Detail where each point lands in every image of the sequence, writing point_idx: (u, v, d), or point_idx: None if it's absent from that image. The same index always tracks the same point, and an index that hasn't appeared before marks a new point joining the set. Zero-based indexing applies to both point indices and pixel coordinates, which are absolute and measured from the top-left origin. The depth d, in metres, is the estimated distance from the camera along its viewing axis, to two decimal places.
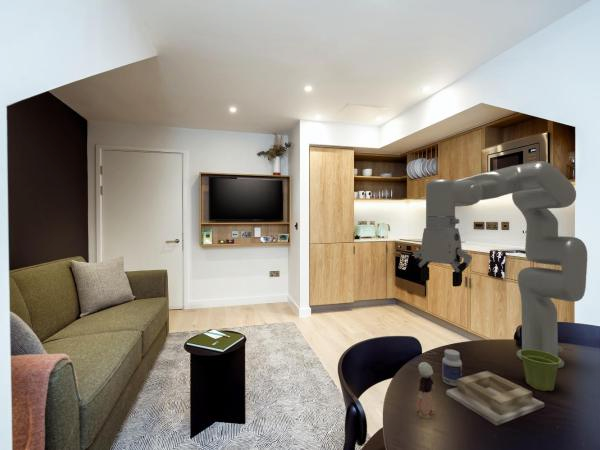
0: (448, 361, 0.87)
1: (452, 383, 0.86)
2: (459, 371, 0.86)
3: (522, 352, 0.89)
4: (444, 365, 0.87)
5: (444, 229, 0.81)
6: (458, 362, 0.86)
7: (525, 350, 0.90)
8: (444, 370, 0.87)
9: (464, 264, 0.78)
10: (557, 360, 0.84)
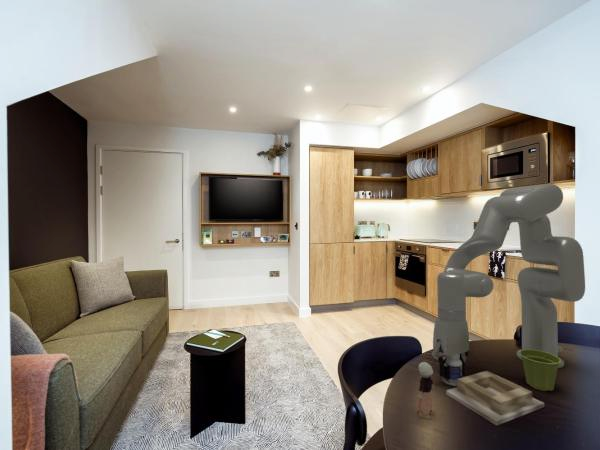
0: None
1: (452, 383, 0.86)
2: (459, 371, 0.86)
3: (522, 352, 0.89)
4: None
5: (464, 321, 0.87)
6: (458, 362, 0.86)
7: (525, 350, 0.90)
8: None
9: (467, 352, 0.89)
10: (557, 360, 0.84)
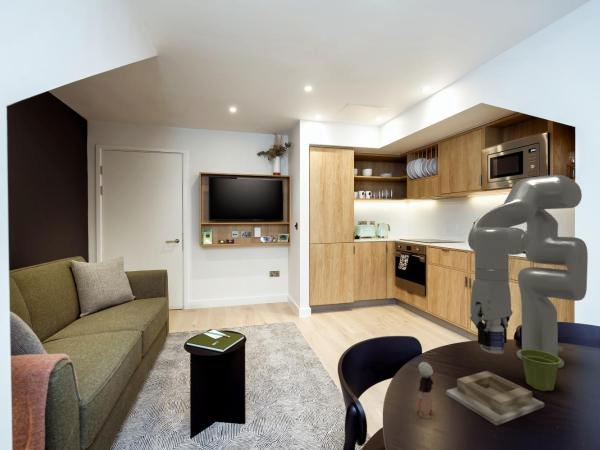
0: None
1: (493, 351, 0.76)
2: (501, 337, 0.76)
3: (522, 352, 0.89)
4: None
5: None
6: (500, 327, 0.77)
7: (525, 350, 0.90)
8: None
9: (509, 318, 0.80)
10: (557, 360, 0.84)
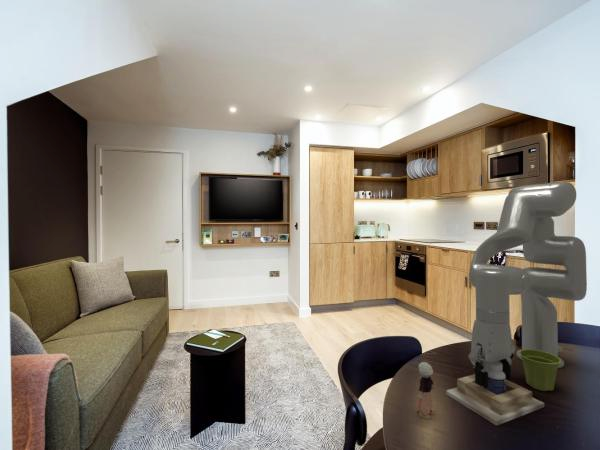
0: (489, 373, 0.77)
1: None
2: (503, 384, 0.76)
3: (522, 352, 0.89)
4: None
5: None
6: (501, 374, 0.77)
7: (525, 350, 0.90)
8: None
9: (513, 355, 0.80)
10: (557, 360, 0.84)
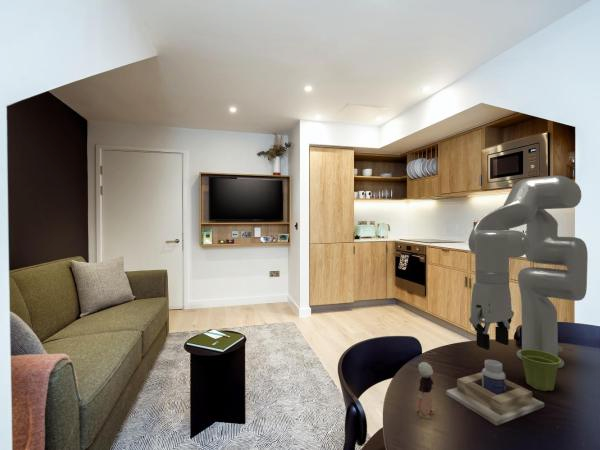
0: (489, 373, 0.77)
1: None
2: (503, 384, 0.76)
3: (522, 352, 0.89)
4: (485, 377, 0.78)
5: None
6: (501, 374, 0.77)
7: (525, 350, 0.90)
8: (485, 383, 0.78)
9: (510, 320, 0.80)
10: (557, 360, 0.84)
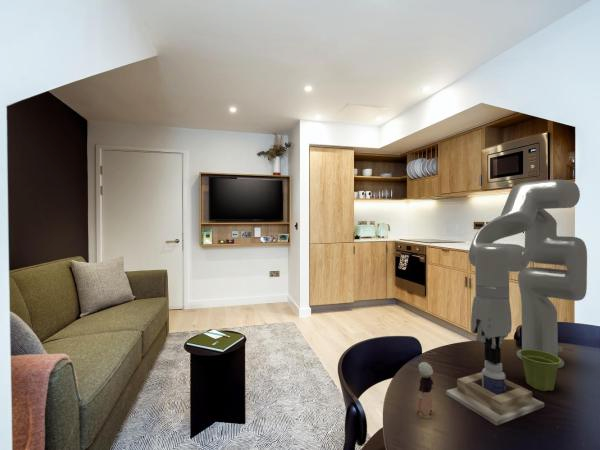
0: (489, 373, 0.77)
1: None
2: (503, 384, 0.76)
3: (522, 352, 0.89)
4: (485, 377, 0.78)
5: None
6: (501, 374, 0.77)
7: (525, 350, 0.90)
8: (485, 383, 0.78)
9: (503, 337, 0.79)
10: (557, 360, 0.84)
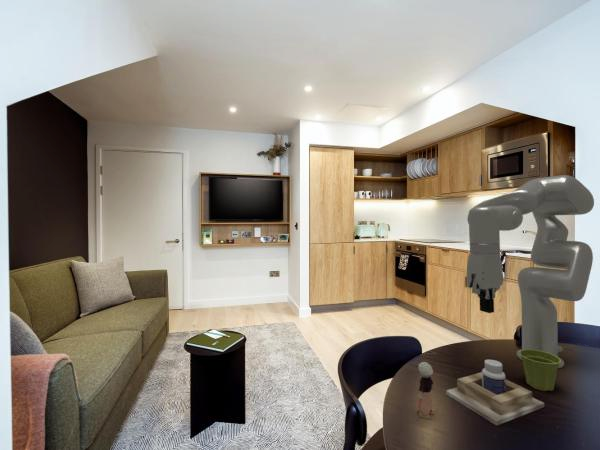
0: (489, 373, 0.77)
1: None
2: (503, 384, 0.76)
3: (522, 352, 0.89)
4: (485, 377, 0.78)
5: (498, 255, 0.86)
6: (501, 374, 0.77)
7: (525, 350, 0.90)
8: (485, 383, 0.78)
9: (495, 289, 0.87)
10: (557, 360, 0.84)
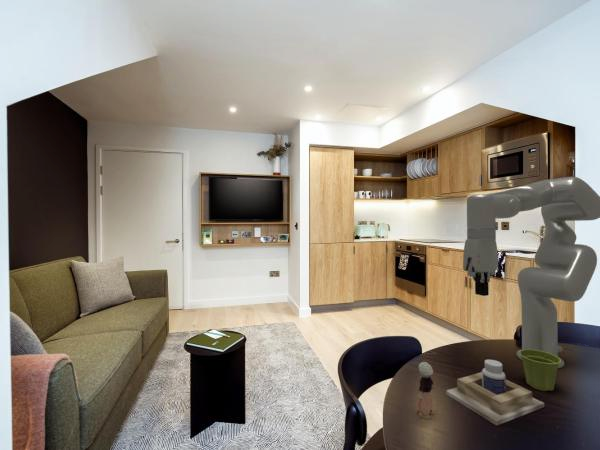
0: (489, 373, 0.77)
1: None
2: (503, 384, 0.76)
3: (522, 352, 0.89)
4: (485, 377, 0.78)
5: (494, 240, 0.90)
6: (501, 374, 0.77)
7: (525, 350, 0.90)
8: (485, 383, 0.78)
9: (490, 274, 0.91)
10: (557, 360, 0.84)
